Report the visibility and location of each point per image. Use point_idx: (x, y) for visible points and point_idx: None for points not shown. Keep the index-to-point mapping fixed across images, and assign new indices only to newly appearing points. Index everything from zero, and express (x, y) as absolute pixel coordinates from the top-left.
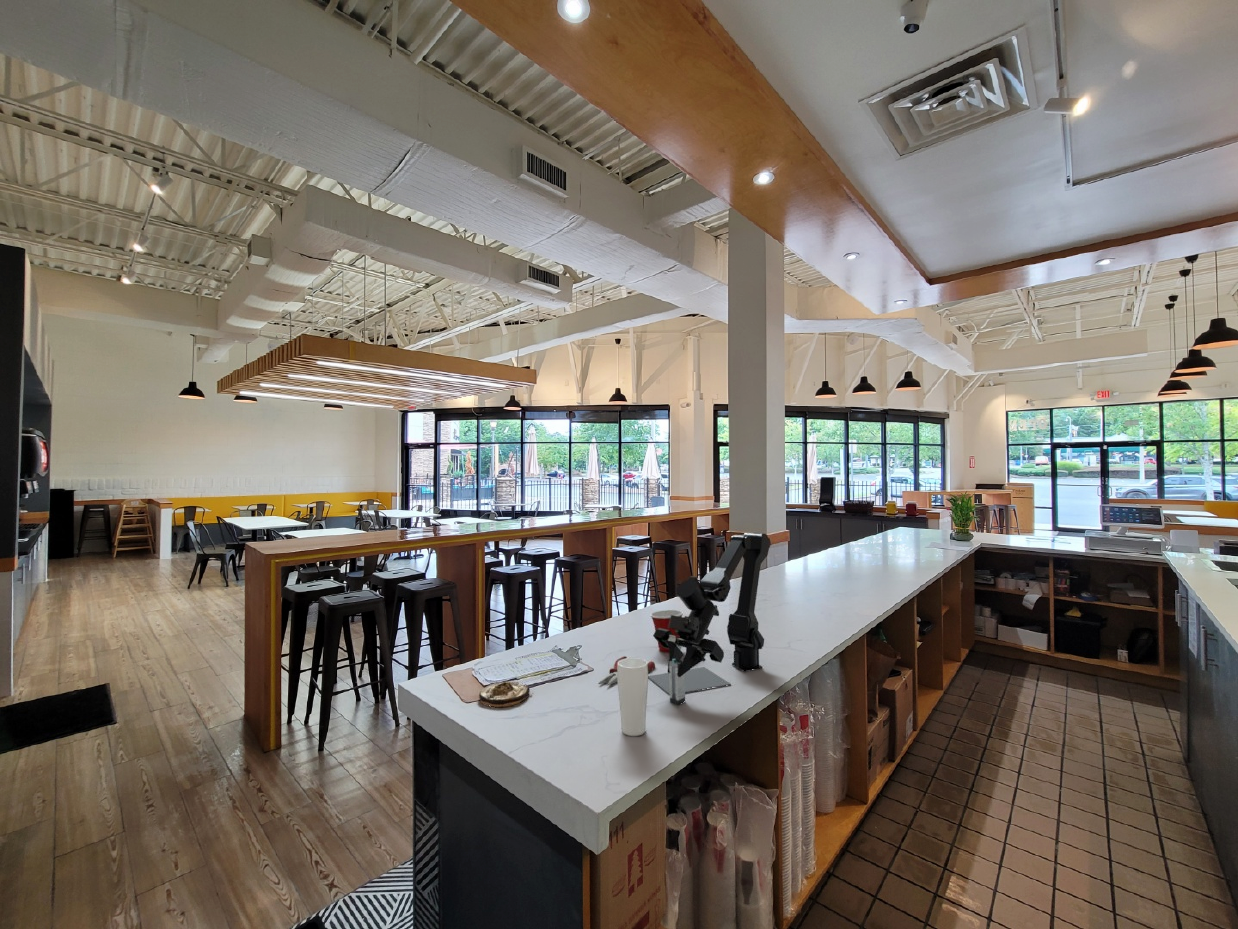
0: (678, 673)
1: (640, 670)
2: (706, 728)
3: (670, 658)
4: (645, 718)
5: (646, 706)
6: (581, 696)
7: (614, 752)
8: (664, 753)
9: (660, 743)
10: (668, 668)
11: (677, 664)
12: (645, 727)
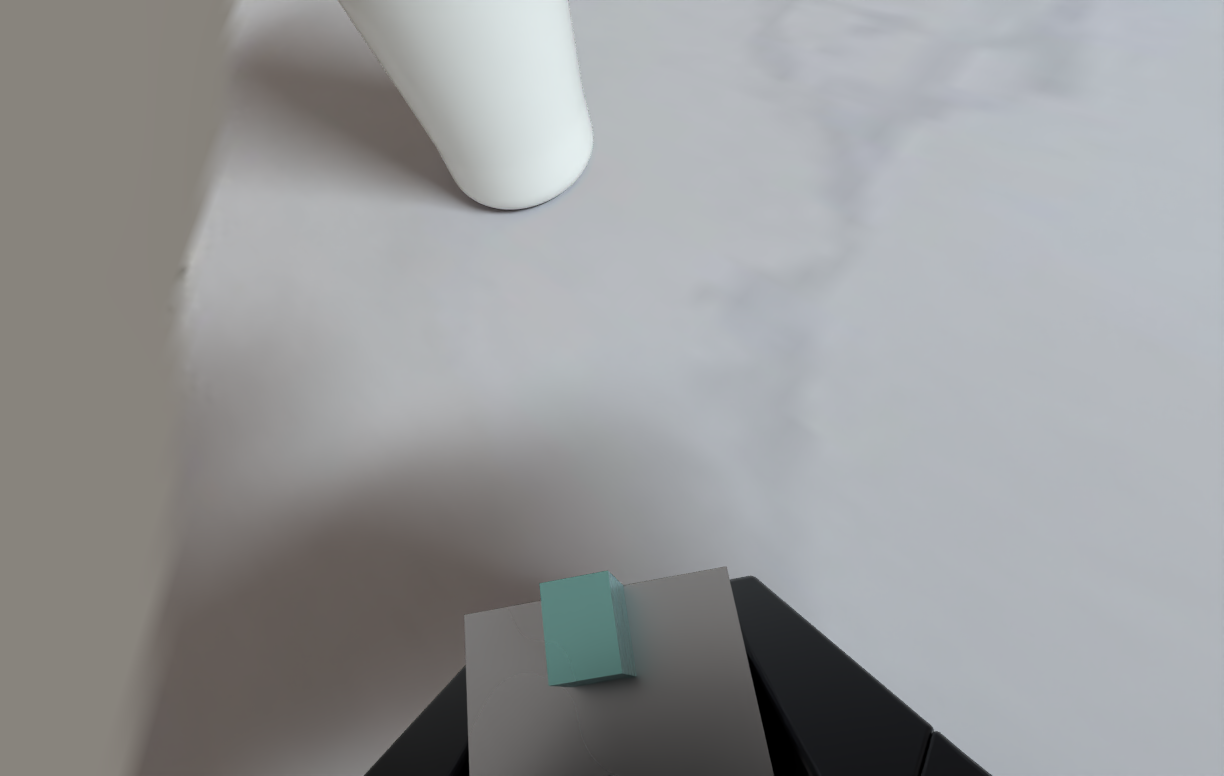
0: None
1: None
2: (205, 535)
3: (869, 738)
4: (426, 132)
5: (393, 76)
6: None
7: None
8: (263, 179)
9: (333, 209)
10: (765, 603)
11: (471, 618)
12: (455, 180)
